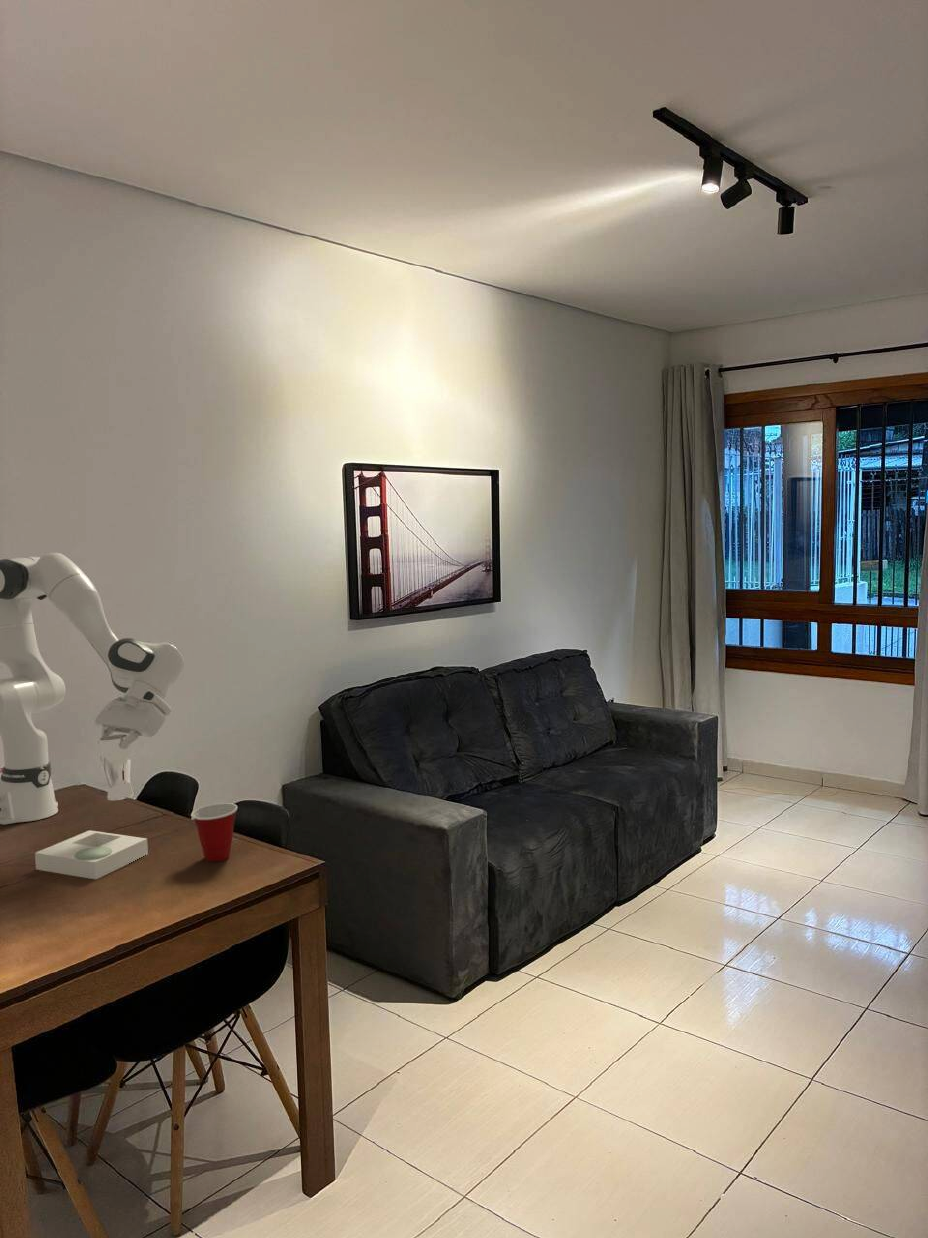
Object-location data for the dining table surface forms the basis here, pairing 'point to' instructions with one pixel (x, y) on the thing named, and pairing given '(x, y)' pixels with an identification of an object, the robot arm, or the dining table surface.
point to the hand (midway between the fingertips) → (111, 746)
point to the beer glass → (116, 766)
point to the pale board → (91, 854)
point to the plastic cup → (215, 829)
